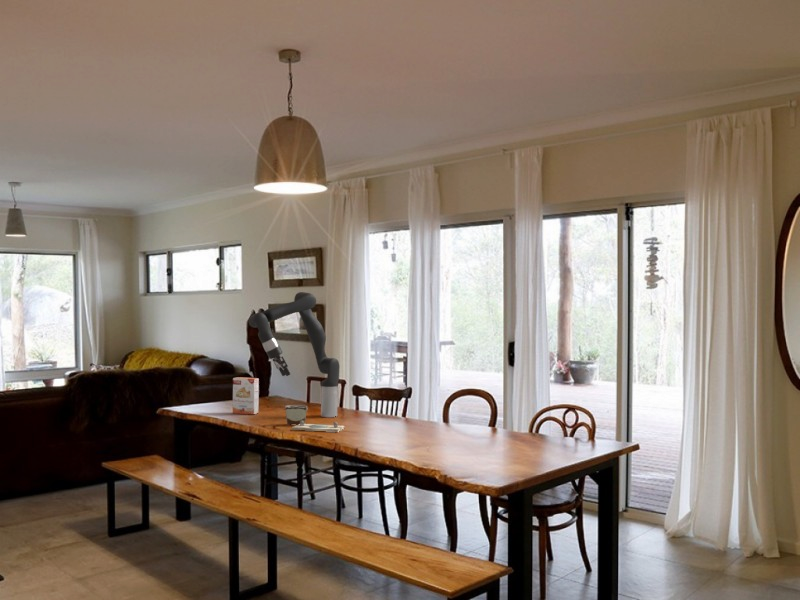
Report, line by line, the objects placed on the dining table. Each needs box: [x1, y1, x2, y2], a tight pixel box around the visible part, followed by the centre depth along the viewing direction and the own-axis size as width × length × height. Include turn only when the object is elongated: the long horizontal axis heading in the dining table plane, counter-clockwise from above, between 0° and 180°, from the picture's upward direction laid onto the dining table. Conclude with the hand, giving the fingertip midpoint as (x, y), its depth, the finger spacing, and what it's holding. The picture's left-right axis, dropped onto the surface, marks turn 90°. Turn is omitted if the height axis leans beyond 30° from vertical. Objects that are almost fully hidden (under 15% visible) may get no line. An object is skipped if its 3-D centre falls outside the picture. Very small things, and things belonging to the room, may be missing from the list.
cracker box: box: [232, 376, 260, 415], centre depth 396 cm, size 14×6×21 cm, turn 73°
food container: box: [284, 404, 308, 426], centre depth 361 cm, size 12×6×10 cm, turn 84°
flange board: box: [291, 421, 345, 433], centre depth 346 cm, size 12×24×4 cm, turn 78°
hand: (286, 375), depth 357 cm, fingers open, 8 cm apart
